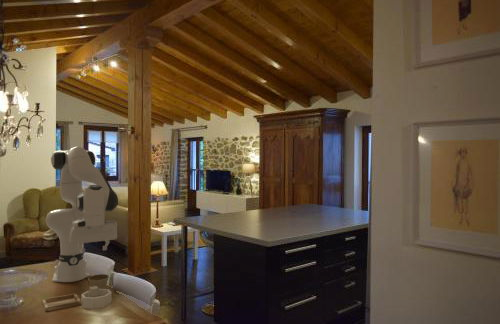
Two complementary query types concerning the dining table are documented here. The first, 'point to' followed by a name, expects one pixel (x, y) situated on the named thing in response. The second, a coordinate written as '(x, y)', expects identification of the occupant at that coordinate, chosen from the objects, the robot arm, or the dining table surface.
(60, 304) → the tray
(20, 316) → the dining table surface
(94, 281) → the flower pot
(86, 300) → the bowl
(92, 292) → the block
